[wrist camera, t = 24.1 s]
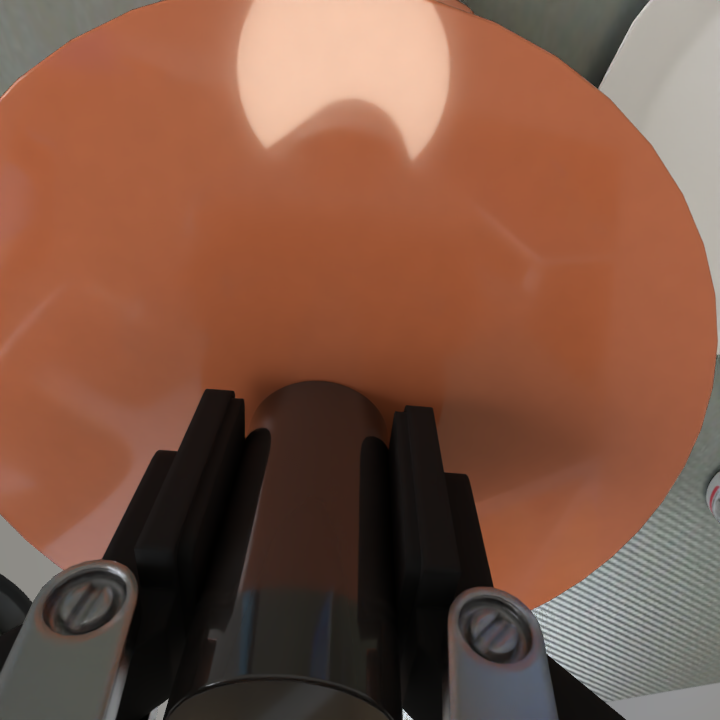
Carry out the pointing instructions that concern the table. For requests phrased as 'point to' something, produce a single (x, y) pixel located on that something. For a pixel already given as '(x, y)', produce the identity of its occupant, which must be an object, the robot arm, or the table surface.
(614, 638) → the table surface
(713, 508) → the pill bottle
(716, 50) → the plate
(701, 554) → the table surface
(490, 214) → the lid
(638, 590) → the table surface
